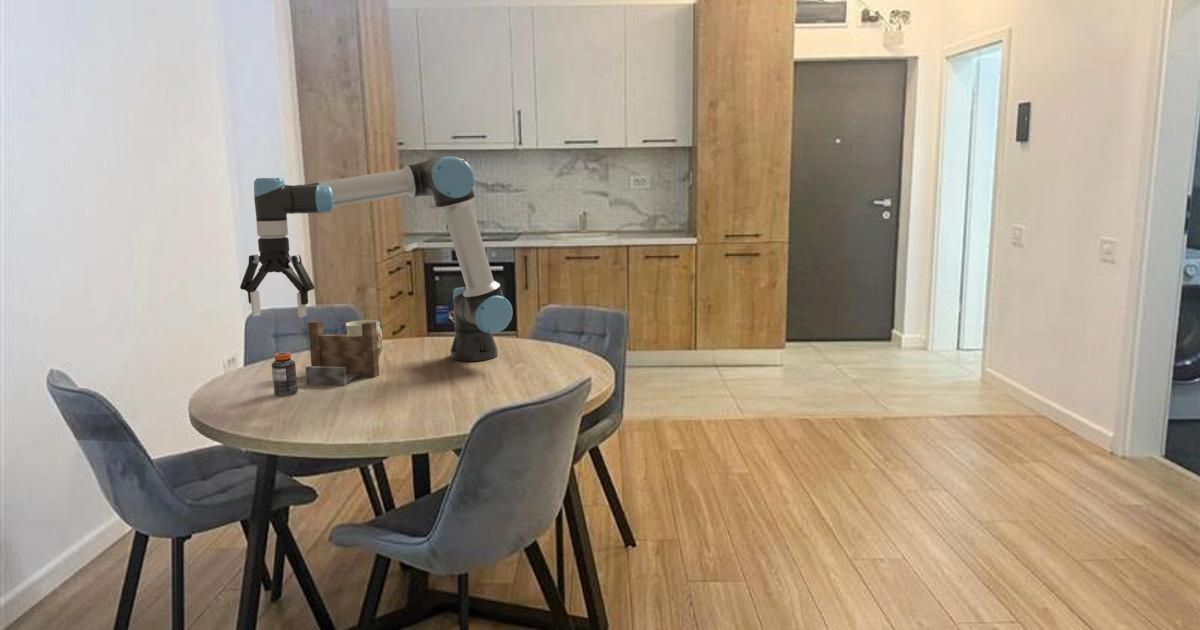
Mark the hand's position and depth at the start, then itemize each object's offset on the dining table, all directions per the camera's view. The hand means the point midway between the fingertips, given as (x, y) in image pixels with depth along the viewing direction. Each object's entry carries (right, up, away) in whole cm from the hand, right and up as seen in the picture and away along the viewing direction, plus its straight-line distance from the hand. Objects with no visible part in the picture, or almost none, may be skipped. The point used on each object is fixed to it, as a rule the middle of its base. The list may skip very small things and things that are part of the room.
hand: (279, 316), depth 209 cm
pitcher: (+12, -15, +38) cm, 42 cm away
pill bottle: (+1, -21, +3) cm, 22 cm away
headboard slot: (+10, -18, +17) cm, 27 cm away
